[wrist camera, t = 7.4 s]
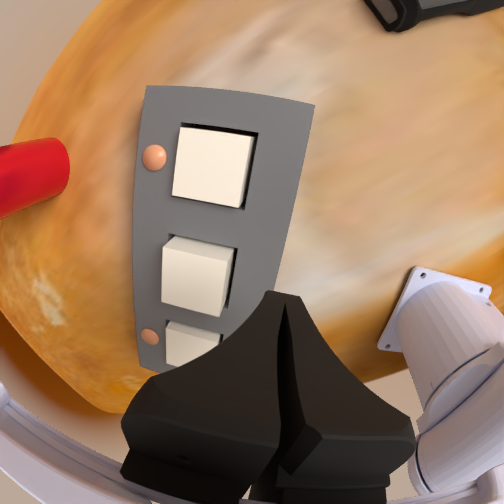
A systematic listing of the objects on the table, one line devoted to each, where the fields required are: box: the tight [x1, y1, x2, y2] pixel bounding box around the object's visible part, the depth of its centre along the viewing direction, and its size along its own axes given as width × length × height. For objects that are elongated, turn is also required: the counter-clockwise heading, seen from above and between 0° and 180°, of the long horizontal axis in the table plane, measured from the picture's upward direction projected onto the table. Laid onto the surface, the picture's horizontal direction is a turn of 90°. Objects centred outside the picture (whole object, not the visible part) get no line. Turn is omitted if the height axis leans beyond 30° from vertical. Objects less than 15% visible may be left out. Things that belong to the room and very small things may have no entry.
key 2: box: [166, 320, 223, 367], centre depth 22 cm, size 4×4×3 cm
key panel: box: [132, 86, 315, 373], centre depth 20 cm, size 10×23×3 cm, turn 170°
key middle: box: [161, 235, 236, 317], centre depth 19 cm, size 4×4×3 cm
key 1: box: [172, 127, 258, 208], centre depth 17 cm, size 4×4×3 cm
